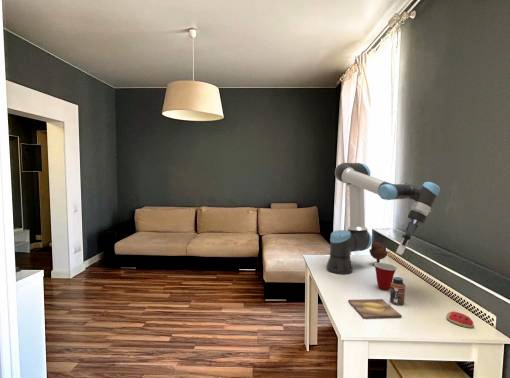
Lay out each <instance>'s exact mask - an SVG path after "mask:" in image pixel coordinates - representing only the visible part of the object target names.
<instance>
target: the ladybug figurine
mask: <svg viewBox="0 0 510 378" xmlns="http://www.w3.org/2000/svg"><path fill="white" fill-rule="evenodd" d="M445 317H446V318H445V319H447V321H449V322H450V323H451V324H455V325H457V326H460V327H463V328H471V329H472V328H474V326H475V324H474V322H473V319H471V317H469V316H468V315H467V314H464V313H461V312H458V311H453V310H452V311H449V312H448V313H447V314H446V315H445Z"/></svg>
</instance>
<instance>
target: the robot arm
mask: <svg viewBox="0 0 510 378" xmlns="http://www.w3.org/2000/svg"><path fill="white" fill-rule="evenodd" d="M334 176H335V178H336V180H338V181H339V182H341V183H344V184H346V186H347V187H348V188H349V191H348V192H349V195H348V196H349V225H350V226H349V227H348V228H347V230H345V229H343V230H341V229H339V230H334V231H331V233H330V238H329V241H330V242H329V245H330V246H329V247H330V249H329V258H328V262H327V263H326V270H327V271H328V272H331V273H333V274H339V275H349V274H352V273H353V264H352V261H351V253H352V252H363V251H366V250H368V249H370V247H372V244H373V243H372V242H373V238H372V235H371V234H370V232H369V231H368V228H367V227H366V225H365V224H366V223H365V222H366V221H365V190H366V191H368V192H371V193H373V194H376V195H378V196H379V197H380V199H381V200H385V201H386V200H387V201H391V200H412V201H414V203H413V204H412V206H411V207H410V209H411V210H409V212H408V214H407V218H408V220H411V221H408V223H407V227H406V230H405V234H402V236H401V237H402V239H401V241H400V243H399V245H398V247H397V249H396V251H395V253H396V254H398V255H400V256H402V255H403V254H404V253H405V250H406V248H407V246H408V245H409V244H410V239H411V238H412V235H413V234H414V233H415V231H416V230H417V228H418V227H419V225H418V224H421V225H423V224H425V222H426V220H427V219H428V218H427V216H428V215H429V213H431V212H432V210H431V209H432V207H433V205H434V203H435V202H436V200H437V198H438V195H439V193H440V192H441V191H440V190H441V187H440V186H439V185H437V184H436V183H434V182H431V181H426V182H424V183H423V184H422V185H417V184H411V183H406V182H400V183H397V184H396V183H391V182H387V181H385V180H382V179H381V178H376V177H373V176H371V170H370V168H369V166H367V164H366V163H362V162H361V163H360V162H342V163H340V164H338V165H337V166H336V167H335V169H334Z"/></svg>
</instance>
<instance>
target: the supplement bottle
mask: <svg viewBox="0 0 510 378" xmlns="http://www.w3.org/2000/svg"><path fill="white" fill-rule="evenodd" d="M389 291H390V292H389V293H390V294H389V302H390V303H391V304H393V305H396V306H402V305H404V304H405V295H406V284H405V283H404V278H402V277H399V276H393V280H392V282H391V288H390V290H389Z"/></svg>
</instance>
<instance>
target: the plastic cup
mask: <svg viewBox="0 0 510 378" xmlns="http://www.w3.org/2000/svg"><path fill="white" fill-rule="evenodd" d="M373 264H374V265H375V266H374V265H373V266H374V268H375V270H374V271H375V275H376V283H377V288H378V289H380V290H382V291H390V289H391V282H393V278H394V277H395V276H394V275H395V272H396V271H397V270H398V267H397V266H395V265H392V264H390V263H385V262H380V263H377V262H375V263H374V262H373Z"/></svg>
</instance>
